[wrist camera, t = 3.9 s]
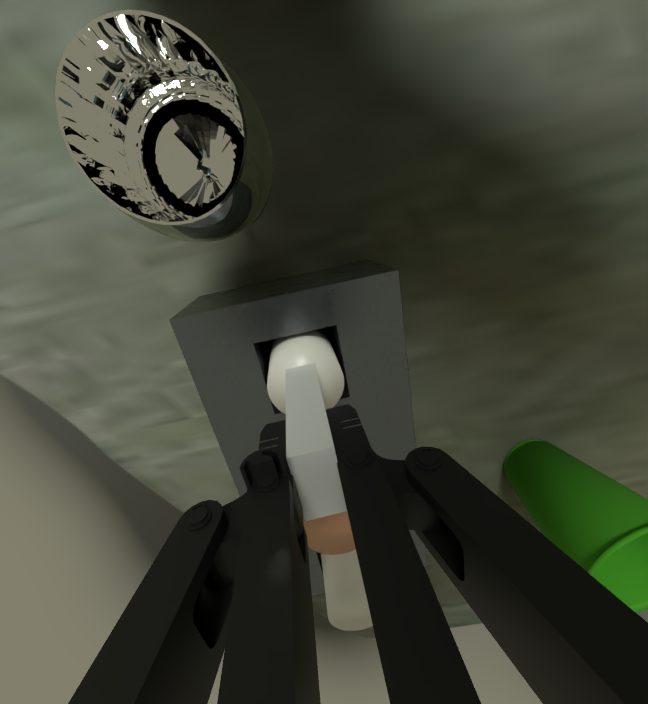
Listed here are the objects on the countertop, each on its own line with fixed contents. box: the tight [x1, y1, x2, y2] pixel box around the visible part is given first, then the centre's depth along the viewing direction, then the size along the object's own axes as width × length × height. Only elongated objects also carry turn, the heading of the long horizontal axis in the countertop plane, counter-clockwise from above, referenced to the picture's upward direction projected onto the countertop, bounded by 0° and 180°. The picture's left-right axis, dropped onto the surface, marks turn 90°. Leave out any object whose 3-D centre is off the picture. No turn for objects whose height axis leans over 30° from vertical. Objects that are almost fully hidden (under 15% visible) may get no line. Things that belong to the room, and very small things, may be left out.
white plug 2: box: [321, 549, 373, 631], centre depth 23 cm, size 4×4×7 cm
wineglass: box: [55, 9, 273, 242], centre depth 14 cm, size 6×6×12 cm
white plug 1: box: [267, 328, 344, 414], centre depth 19 cm, size 4×4×7 cm
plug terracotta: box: [303, 511, 356, 555], centre depth 20 cm, size 4×4×7 cm
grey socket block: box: [170, 260, 428, 596], centre depth 23 cm, size 24×12×6 cm, turn 11°
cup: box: [504, 439, 648, 613], centre depth 25 cm, size 9×9×11 cm
